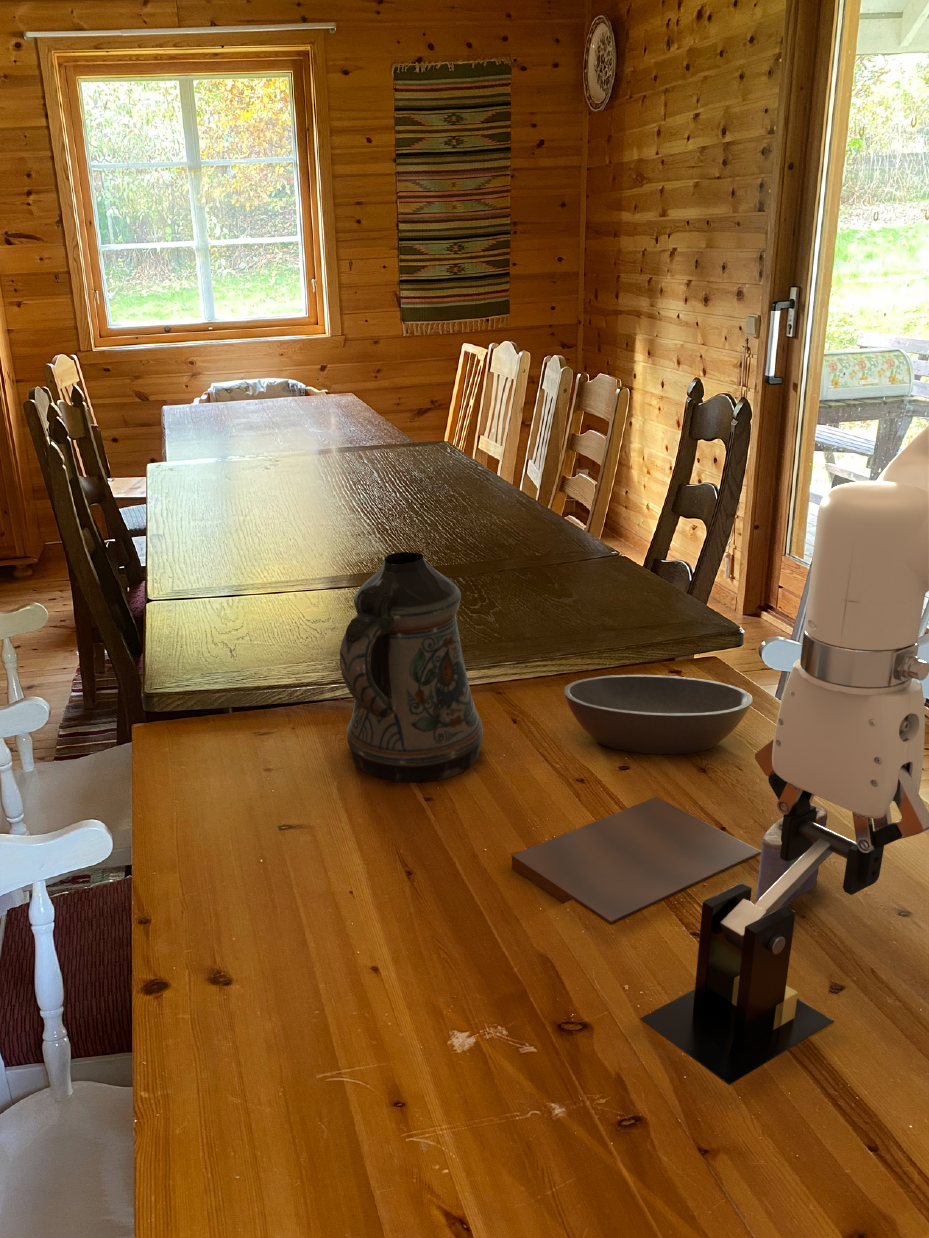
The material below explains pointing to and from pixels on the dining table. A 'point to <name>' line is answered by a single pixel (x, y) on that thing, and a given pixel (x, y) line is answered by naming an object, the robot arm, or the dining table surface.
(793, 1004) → the butter
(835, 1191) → the dining table surface
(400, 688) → the beer stein
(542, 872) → the cutting board
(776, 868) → the flask
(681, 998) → the dark brown stand
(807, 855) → the lever
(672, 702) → the bowl
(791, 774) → the robot arm
